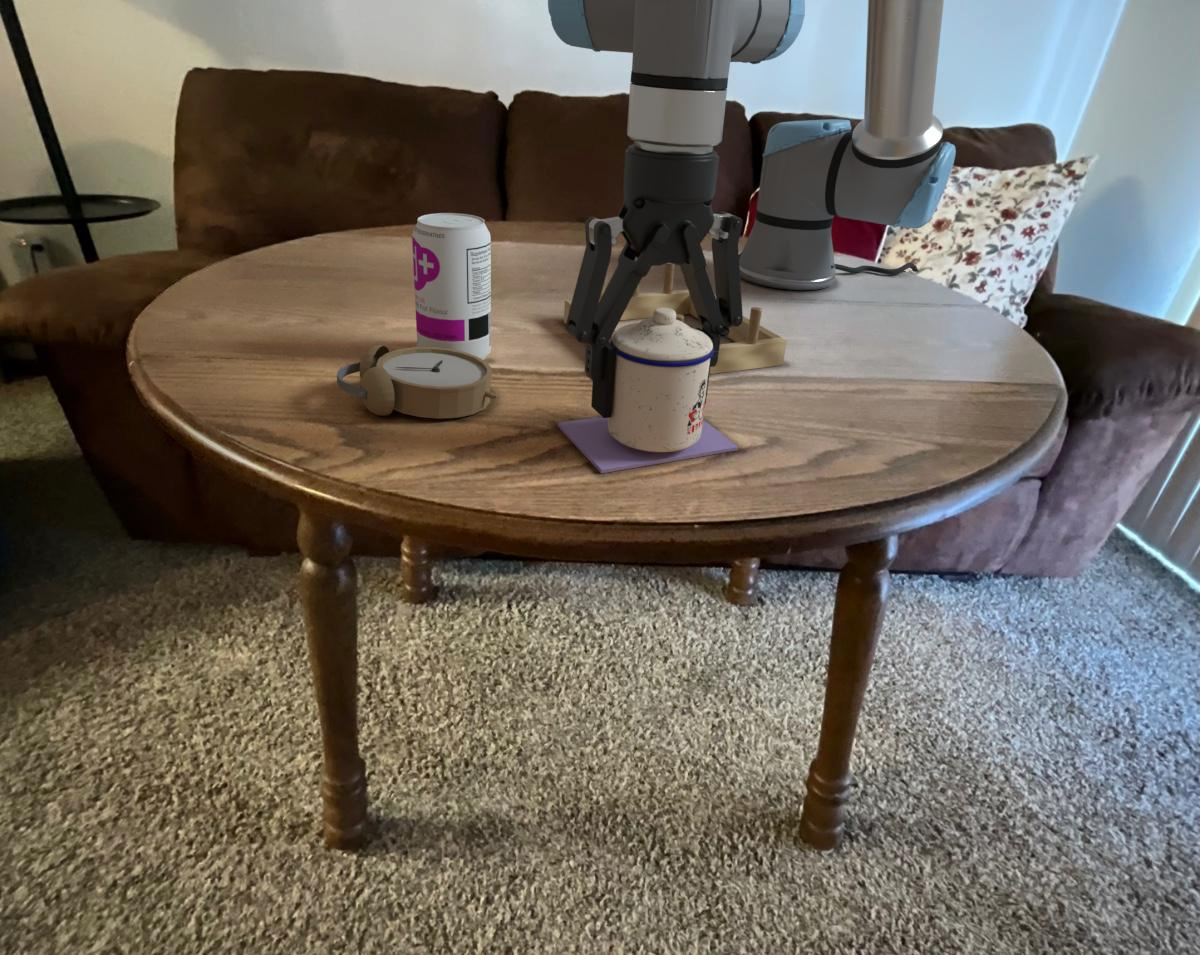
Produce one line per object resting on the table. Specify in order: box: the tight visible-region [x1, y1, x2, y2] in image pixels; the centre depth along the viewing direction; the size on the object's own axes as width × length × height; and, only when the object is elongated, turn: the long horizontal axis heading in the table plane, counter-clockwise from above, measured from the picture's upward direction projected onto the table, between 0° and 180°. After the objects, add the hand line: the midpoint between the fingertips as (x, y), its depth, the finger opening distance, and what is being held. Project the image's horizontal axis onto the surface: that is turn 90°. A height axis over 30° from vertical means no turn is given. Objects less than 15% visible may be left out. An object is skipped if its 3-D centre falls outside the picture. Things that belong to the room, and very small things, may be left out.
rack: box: [563, 263, 788, 375], centre depth 102 cm, size 19×21×7 cm
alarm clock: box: [336, 344, 498, 420], centre depth 83 cm, size 11×5×15 cm
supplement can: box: [411, 212, 492, 361], centre depth 92 cm, size 8×8×15 cm
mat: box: [557, 416, 739, 474], centre depth 79 cm, size 14×10×1 cm
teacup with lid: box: [608, 308, 714, 452], centre depth 76 cm, size 12×9×12 cm
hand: (649, 405), depth 78 cm, fingers closed on teacup with lid, 9 cm apart
